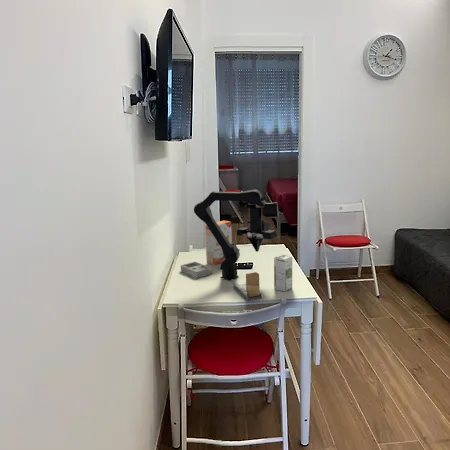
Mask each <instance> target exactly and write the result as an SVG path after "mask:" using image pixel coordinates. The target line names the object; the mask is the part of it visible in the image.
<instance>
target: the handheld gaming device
mask: <svg viewBox="0 0 450 450" xmlns="http://www.w3.org/2000/svg"><path fill="white" fill-rule="evenodd" d="M180 271H181V272H182V273H185V274H187V275H189V276H191V277H193V278H195V279H198V278H202V277H205V276H209V275H210V274H211V269H210V267H209V266H207V265H205V264H203V263H200V262H198V261H192V262H188V263H184V264H180Z"/></svg>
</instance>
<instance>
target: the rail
mask: <svg viewBox="0 0 450 450" xmlns="http://www.w3.org/2000/svg"><path fill="white" fill-rule="evenodd" d="M233 290H234V291H236V292H237V293H238V294H239V295H240V296H241V297H243V298H244V299H245V300H246V301H247V302H251V301H256V300H261V299H263V293H262V292H261V290H260V295H258V296H252V297H249V296H248V295H247V292H246V283H244V284H243V283H242V284H235V283H234V284H233Z"/></svg>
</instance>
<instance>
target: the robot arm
mask: <svg viewBox="0 0 450 450" xmlns="http://www.w3.org/2000/svg"><path fill="white" fill-rule="evenodd" d="M262 195H263V194H262V193H261V191H260V190H258V189H249V190H244V191H216V190H213V191H211V192H210V193H209V194H208V195H207V196H206V198H205V199H203V201H200V202H198V203H196V204H195V206H194V207H193V212H194V214H195V215H196V216H197V217H198V219H200V220H201V221H202V222H203V223H205V225H207V226H208V228H209V230H210V231H211V233H212V234H213V236H214V237H215V239H216V240H217V242H218V243H219V245H220V246H221V248H222V251H223V255H224V257H225V258H224V260H223V261H222V262H221V263H220V265H221V275H222V276H220V277H219V278H220V279H221V280H227V281H233V280H235V279H237V278H239V275H238V268H237V265H236V264H237V262H238V260H239V259H240V256H241V253H240V251H241V250H240V248H238V246H237V244H236V243H232V244H231V243H230V242H229V241H228V240H227V238H226V237H225V235H224V234H223V232H222V231H221V229H220V227H219V226H218V224H217V223H216V222H217V221H216V220H215V218H214V216H213V213H212V210H211V206H212V205H213V204H214V203H215V202H217V201H221V202H222V201H225V202H227V201H228V202H229V201H230V202H243V203H245V204H246V205H245V206H244V207H243V209H244V210H248V219H249V220H247V224H249V227H240V228H237V230H236V236H239V237H242V236H243V235H244V234H245V235H247V237H246V239H247V240H248V241H249V242H250V244H251V245H252V247H253V248H254V251H255V252H257V253H258V252H259V251H260V247H261V244H262V242H263V240H273V239H275V238H277V237H278V233H277V231H276V230H273V229H270V227H271V226H270V225H271V224H270V223H268V222H265V220H264V218H267V219H268V218H269V219H270V218H271V219H273V218H274V219H275V218H277V219H278V218H279V206H278V205H279V204H278V202H277V201H276V202H267V201H266V200H265V199H264V197H263V196H262ZM263 217H264V218H263Z"/></svg>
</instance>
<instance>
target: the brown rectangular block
mask: <svg viewBox="0 0 450 450" xmlns="http://www.w3.org/2000/svg"><path fill="white" fill-rule="evenodd" d="M245 284H246V292H247V295H248V296H249V297H252V296H258V295H260V291H261V290H260V274H259V273H258V272H257V271H255V272H250V273H249V272H248V273H245Z"/></svg>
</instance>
